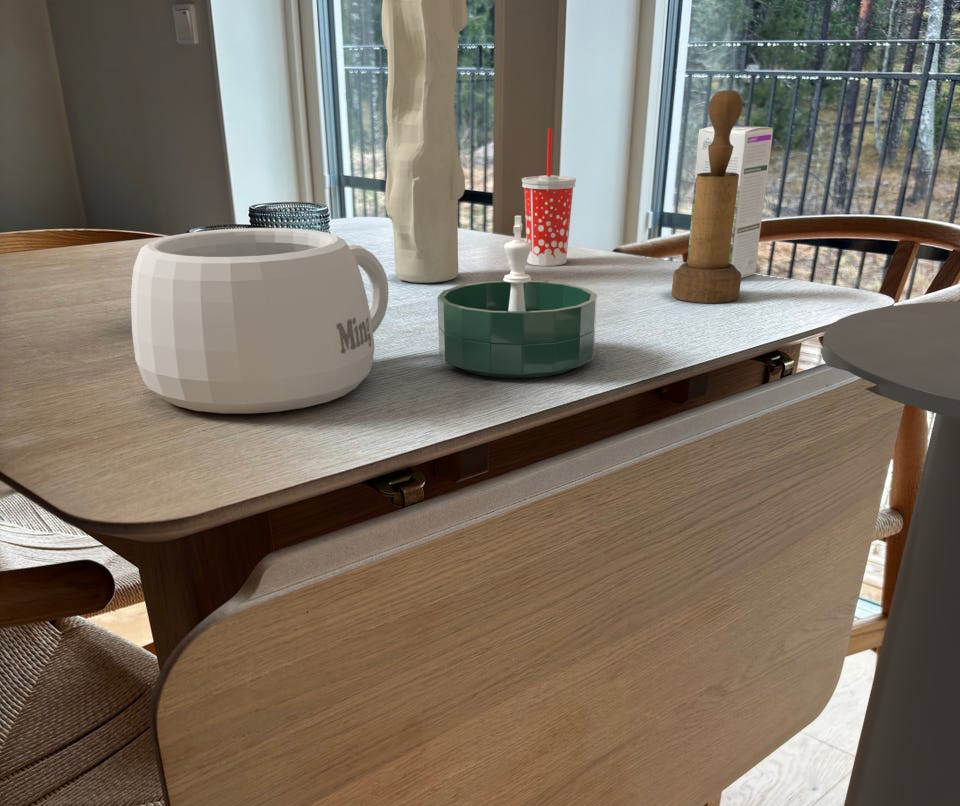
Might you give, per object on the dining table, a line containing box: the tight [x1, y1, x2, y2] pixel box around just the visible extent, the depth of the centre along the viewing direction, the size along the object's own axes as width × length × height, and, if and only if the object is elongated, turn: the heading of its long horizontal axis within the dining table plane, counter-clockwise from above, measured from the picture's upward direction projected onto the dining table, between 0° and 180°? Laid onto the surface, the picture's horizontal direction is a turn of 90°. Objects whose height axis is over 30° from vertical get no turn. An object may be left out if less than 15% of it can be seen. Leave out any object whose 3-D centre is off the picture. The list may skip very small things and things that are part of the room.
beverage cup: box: [521, 128, 577, 267], centre depth 112 cm, size 6×6×14 cm
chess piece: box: [502, 215, 533, 312], centre depth 74 cm, size 5×5×10 cm
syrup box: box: [686, 125, 774, 279], centre depth 104 cm, size 6×6×14 cm
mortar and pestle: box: [670, 89, 743, 304], centre depth 93 cm, size 7×6×18 cm
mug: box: [130, 227, 389, 415], centre depth 70 cm, size 21×17×10 cm
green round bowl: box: [437, 280, 598, 379], centre depth 76 cm, size 12×12×5 cm
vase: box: [381, 0, 469, 284], centre depth 99 cm, size 9×8×30 cm
